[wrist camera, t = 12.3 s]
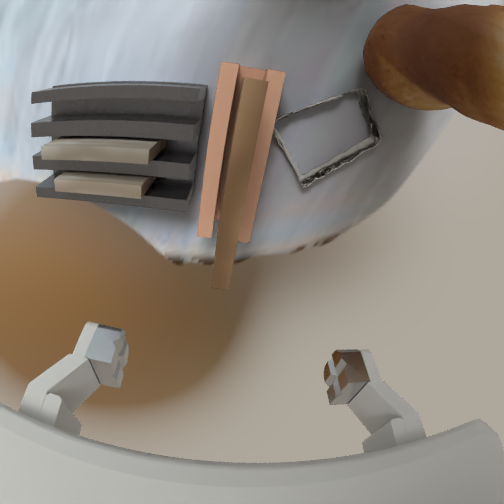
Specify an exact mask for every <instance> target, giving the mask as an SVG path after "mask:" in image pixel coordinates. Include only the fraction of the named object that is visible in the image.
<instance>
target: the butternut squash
mask: <svg viewBox="0 0 504 504" xmlns="http://www.w3.org/2000/svg"><path fill="white" fill-rule="evenodd" d="M363 57H364V63H365V68H366V72H367V75H368V76H369V78H370V79H371V80H372V82H373V83H374V85H375V86H376V88H377V89H378V90H380V91H381V92H382V93H384V94H385V95H386V96H387V97H389V98H390V99H392V100H394V101H396V102H398V103H400V104H402V105H404V106H407V107H410V108H415V109H420V110H443V109H448V108H454V109H455V110H457V111H458V112H460V113H461V114H463V115H465V116H467V117H469V118H471V119H474V120H476V121H479V122H482V123H485V124H489V125H491V126H494V127H496V128H499V129H501V130H504V6H500V5H489V6H478V5H468V4H463V5H456V6H451V7H447V8H439V9H429V8H423V7H418V6H415V5H408V4H405V5H402V6H399V7H397V8H395V9H393V10H391V11H389V12H387V13H386V14H385V15H383V16H382V17H381V18H380V19H379V20H378V21H377V22H376V24H375V25H374V27H373V28H372V30H371V31H370V33H369V35H368V38H367V40H366V43H365V46H364V51H363Z"/></svg>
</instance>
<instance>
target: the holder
mask: <svg viewBox="0 0 504 504" xmlns="http://www.w3.org/2000/svg"><path fill="white" fill-rule="evenodd" d="M285 74H286V72H281V71H277V70H272V69H267V70H261V69H255V68H249V67H243V66H239V64H236V63H228V62H221V67H220V73H219V78H218V84H217V90H216V96H215V102H214V108H213V114H212V120H211V127H210V134H209V141H208V148H207V155H206V163H205V170H204V178H203V187H202V195H201V204H200V214H199V223H198V234H197V236H199V237H207V238H212V231H213V225H214V219H217V220H219V219H220V211H221V204H222V197H223V191H224V184H225V178H226V172H227V165H228V159H229V153H230V147H231V141H232V135H233V130H234V124H235V118H236V113H237V107H238V102H239V96H240V91H241V86H242V81H243V78H244V77H246V78H252V79H258V80H263V81H269V83H268V88H267V93H266V98H265V103H264V107H263V112H262V117H261V122H260V127H259V132H258V137H257V142H256V147H255V152H254V157H253V162H252V168H251V173H250V178H249V183H248V188H247V194H246V199H245V204H244V209H243V215H242V220H241V225H240V231H239V236H238V242H245V243H250V238H251V233H252V228H253V224H254V219H255V214H256V209H257V205H258V200H259V195H260V191H261V186H262V181H263V176H264V172H265V167H266V162H267V158H268V153H269V148H270V144H271V139H272V134H273V130H274V125H275V120H276V116H277V111H278V106H279V102H280V97H281V93H282V88H283V83H284V79H285Z"/></svg>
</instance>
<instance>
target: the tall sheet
mask: <svg viewBox="0 0 504 504" xmlns="http://www.w3.org/2000/svg"><path fill="white" fill-rule="evenodd" d="M268 83H269V81H263V80H258V79H252V78H246V77H244V78H243V81H242V86H241V91H240V96H239V102H238V107H237V113H236V118H235V124H234V130H233V135H232V141H231V147H230V153H229V159H228V165H227V172H226V178H225V184H224V191H223V197H222V204H221V211H220V219H219V227H218V235H217V243H216V251H215V260H214V269H213V279H212V287H211V288H214V289H222V290H229V286H230V280H231V275H232V269H233V264H234V258H235V253H236V247H237V242H238V236H239V231H240V225H241V220H242V215H243V209H244V204H245V199H246V194H247V188H248V183H249V178H250V173H251V168H252V162H253V157H254V152H255V147H256V142H257V137H258V132H259V127H260V122H261V117H262V112H263V107H264V103H265V98H266V93H267V88H268Z"/></svg>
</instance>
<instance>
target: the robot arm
mask: <svg viewBox="0 0 504 504" xmlns="http://www.w3.org/2000/svg"><path fill="white" fill-rule="evenodd" d="M125 337H126V334H125V330H124V329H119V328H114V327H110V326H105V325H101V324H97V323H92V322H87V323H86V325H85V326H84V329H83V331H82V333H81V335H80V338H79V340H78V342H77V345H76V347H75V350H74V352H73V355H72V354H69V355H67V356H66V357H64V358H63V359H61V360H60V361H59V362H57V363H56V364H55V365H53V366H52V367H51V368H49V369H48V370H46V371H45V372H44V373H42V374H41V375H40V376H38V377H37V378H36V379H34V380H33V381H31V382H30V383H29V384H28V387H27V389H26V392H25V394H24V397H23V400H22V402H21V405H20V408H19V411H16V410H14V409H12V408H10V407H8V406H6V405H4V404H2V403H0V504H504V450H503V447H502V443H501V441H500V438H499V436H498V434H497V433H496V432H495V431H494V430H493V429H492V428H491V427H490V426H489V425H488V424H487V423H485V422H484V421H482V420H480V419H476V420H473V421H471V422H468V423H465V424H463V425H460V426H458V427H455V428H452V429H450V430H447V431H444V432H441V433H438V434H436V435H432V436H429V437H426V435H425V431H424V428H423V425H422V422H421V419H420V416H419V413H418V412H417V411H416V410H415V409H414V408H413V407H412V406H411V405H409V404H408V403H407V402H406V401H405V400H404V399H403V398H402V397H401V396H400V395H399V394H398V393H397V392H395V391H394V390H393V389H392V388H391V387H390V386H389V385H388V384H387V383H386V382H385V381H381V379H380V376H379V373H378V370H377V367H376V364H375V361H374V359H373V356H372V353H371V352H370V350H357V349H356V350H336V351H334V353H333V354H332V358H333V359H331V360H329V361H328V362H327V363H326V365H325V368H324V380H325V383H326V384H327V385H328V386H329V388H328V390H327V394H328V399H329V403H330V405H333V404H334V405H336V404H348V406H349V407H350V409H351V410H352V411H353V412H354V414H355V415H356V416H357V417H358V419H359V420H360V421H361V422H362V423H363V425H364V426H365V427H366V428H367V430H368V431H369V432H370V433H371V436H370V437H368V438H367V439H365V440H364V441H363V443H362V444H363V449H364V453H362V454H356V455H349V456H344V457H336V458H329V459H320V460H310V461H299V462H281V463H232V462H231V463H230V462H214V461H213V462H212V461H201V460H192V459H183V458H175V457H168V456H162V455H156V454H150V453H145V452H140V451H135V450H130V449H125V448H122V447H118V446H114V445H110V444H106V443H102V442H99V441H95V440H92V439H88V438H85V437H82V436H79V434H80V430H81V423H80V421H79V420H78V419H77V418H76V417H75V415H74V414H73V412H74V411H75V410H76V409H77V408H78V407H79V406H80V405H81V404H82V403H83V402H84V401H85V400H86V399H87V398H88V397H89V396H90V395H91V394H92V393H93V392H94V391H95V390H96V389H97V388H98V387H99V386H100V384H102V385H106V386H111V387H116V388H120V386H121V383H122V379H123V375H124V374H123V371H122V368H123V367H124V366H125V365H126V364H127V360H128V352H129V349H128V343H127V341H126V340H125Z"/></svg>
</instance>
